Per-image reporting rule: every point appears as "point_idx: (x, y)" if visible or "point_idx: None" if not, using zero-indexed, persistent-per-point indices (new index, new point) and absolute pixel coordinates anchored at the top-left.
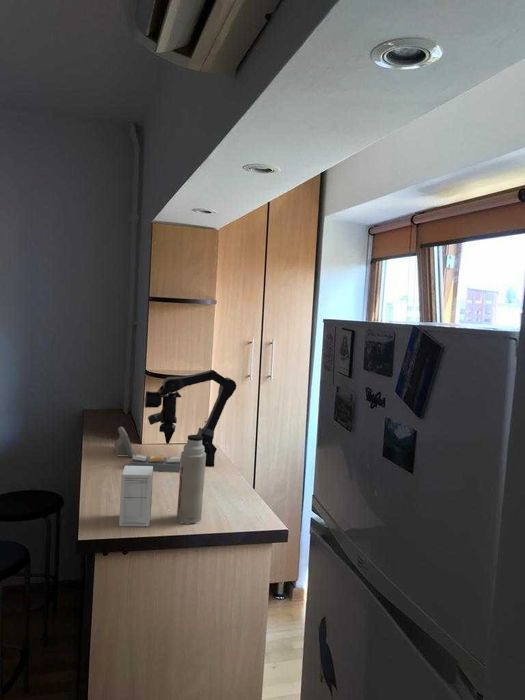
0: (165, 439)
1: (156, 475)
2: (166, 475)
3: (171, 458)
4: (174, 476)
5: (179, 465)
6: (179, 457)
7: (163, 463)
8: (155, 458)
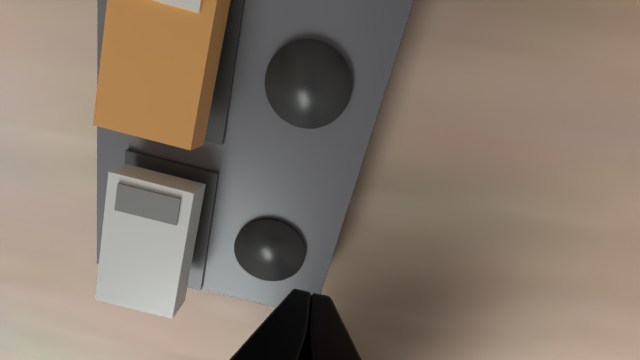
0: (250, 337)
1: (27, 25)
2: (47, 117)
3: (130, 228)
4: (36, 175)
5: (98, 259)
6: (134, 308)
7: None
8: (105, 31)
